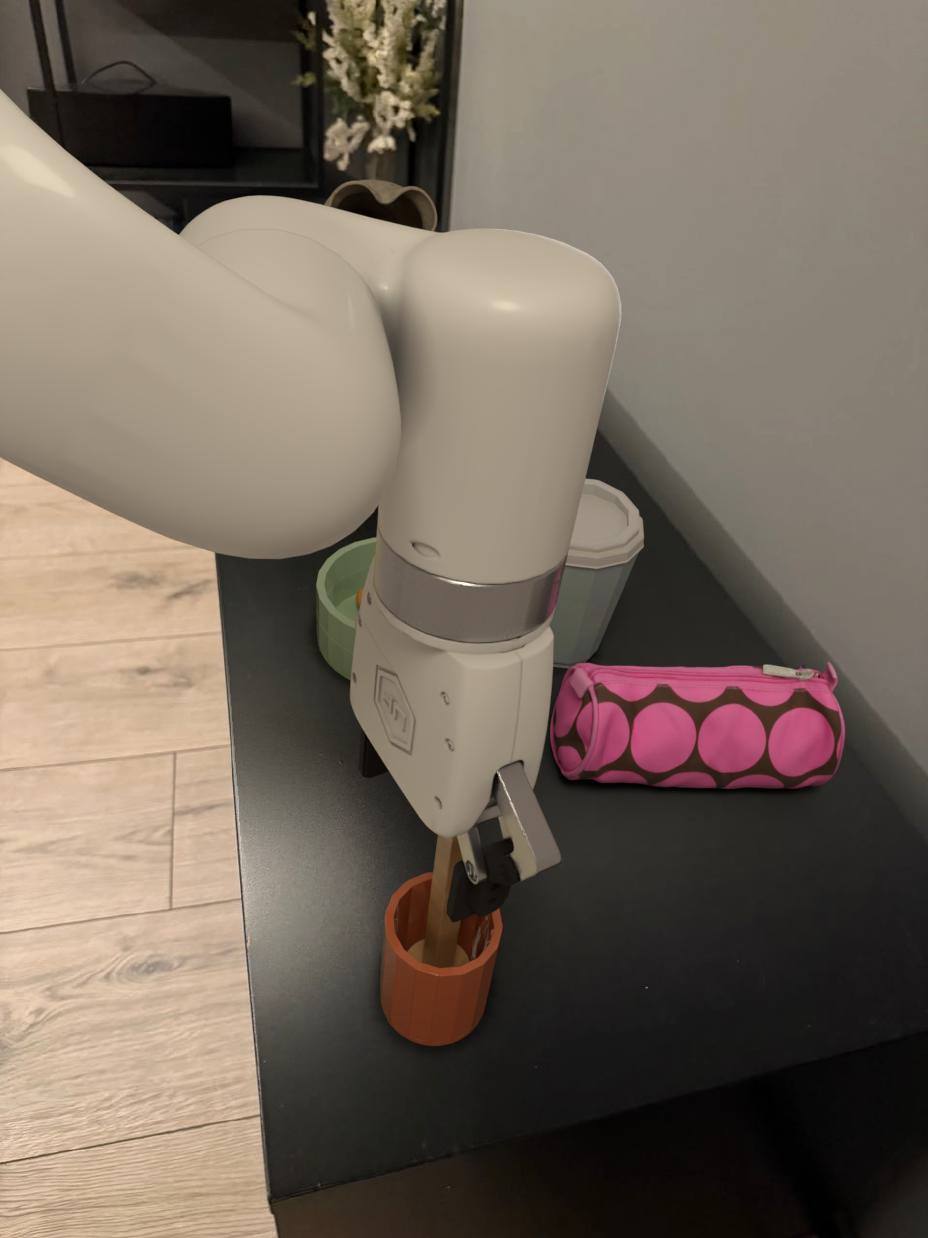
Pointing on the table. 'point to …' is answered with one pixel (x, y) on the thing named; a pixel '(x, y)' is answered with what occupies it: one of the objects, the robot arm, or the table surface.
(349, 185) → the vase
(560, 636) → the disposable coffee cup
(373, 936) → the table surface
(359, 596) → the ball
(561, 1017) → the table surface
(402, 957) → the crock
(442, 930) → the wooden post with base
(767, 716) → the pencil case
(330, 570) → the bowl
